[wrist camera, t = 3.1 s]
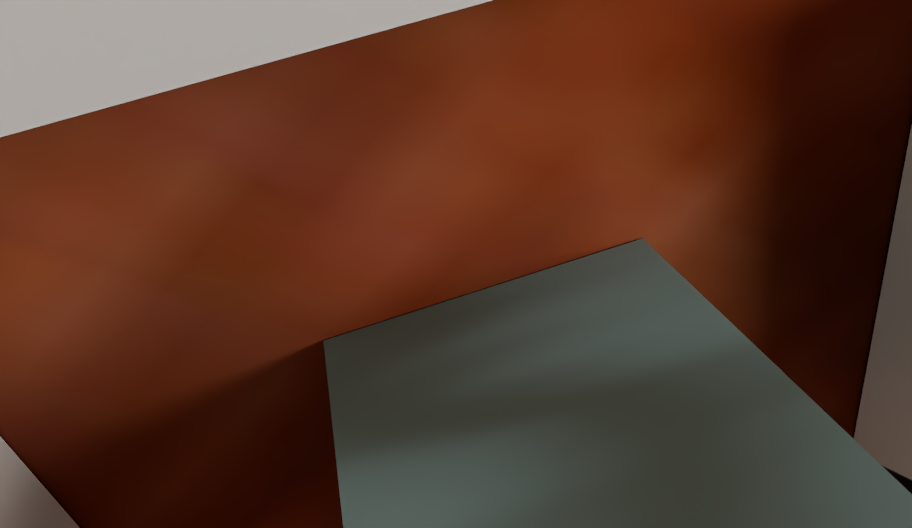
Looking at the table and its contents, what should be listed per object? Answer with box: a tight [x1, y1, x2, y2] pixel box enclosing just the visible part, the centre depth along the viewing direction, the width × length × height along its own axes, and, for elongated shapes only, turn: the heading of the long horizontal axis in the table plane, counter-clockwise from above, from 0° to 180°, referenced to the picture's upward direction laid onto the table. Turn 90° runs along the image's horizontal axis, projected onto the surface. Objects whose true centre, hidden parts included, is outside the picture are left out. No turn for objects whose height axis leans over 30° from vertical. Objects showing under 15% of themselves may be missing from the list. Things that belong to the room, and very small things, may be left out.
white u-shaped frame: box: [0, 126, 912, 528], centre depth 10 cm, size 16×13×3 cm
